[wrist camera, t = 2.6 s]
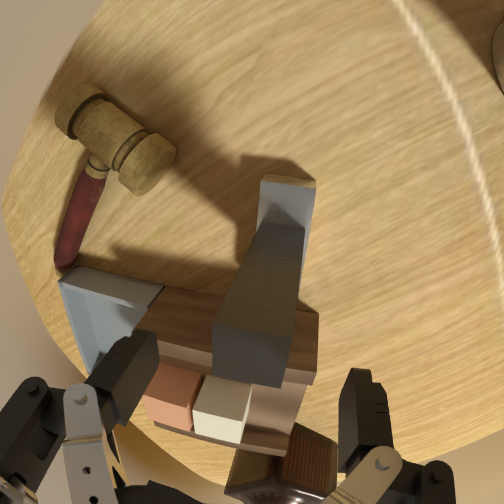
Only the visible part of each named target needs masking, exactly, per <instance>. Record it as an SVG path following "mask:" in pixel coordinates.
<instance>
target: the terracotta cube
mask: <svg viewBox="0 0 504 504" xmlns="http://www.w3.org/2000/svg"><path fill="white" fill-rule="evenodd" d="M201 388H202V375H201V373H198V372H194V371H190V370H186V369H182V368H178V367H175V366H171V365H167V364H164V363H161V362H159V366H158V369H157V371H156V373H155V375H154V376H153V378H152V380H151V382H150V383H149V385H148V387H147V389H146V390H145V392H144V394H143V396H142V399H143V402H144V406H145V409H146V412H147V415H148V418H149V419H150V420H153V421H156V422H159V423H162V424H165V425H169V426H172V427H175V428H178V429H182V430H185V431H189V432H190V430H191V427H192V425H193V422H194V420H193V411H192V409H193V407H194V405H195V402H196V400H197V397H198V395H199V393H200V390H201Z"/></svg>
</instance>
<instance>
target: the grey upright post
mask: <svg viewBox="0 0 504 504" xmlns="http://www.w3.org/2000/svg"><path fill="white" fill-rule="evenodd" d="M315 194H316V180H310V179H303V178H296V177H289V176H282V175H275V174H267V173H266V175H265V176H264V177H263V179H262V180H261V184H260V195H259V205H258V216H257V227H256V234H255V236H254V238H253V240H252V242H251V244H250V246H249V248H248V250H247V252H246V254H245V257H244V259H243V261H242V263H241V265H240V267H239V269H238V271H237V273H236V275H235V277H234V279H233V281H232V283H231V286H230V288H229V290H228V292H227V294H226V296H225V298H224V300H223V302H222V304H221V306H220V308H219V311H218V313H217V315H216V317H215V319H214V321H213V323H212V375H214V376H218V377H223V378H227V379H232V380H237V381H241V382H246V383H251V384H257V385H262V386H267V387H273V388H279V389H281V386H282V382H283V378H284V374H285V369H286V365H287V361H288V356H289V352H290V348H291V343H292V339H293V332H294V324H295V317H296V309H297V301H298V293H299V287H300V282H301V277H302V271H303V266H304V260H305V255H306V249H307V243H308V237H309V231H310V225H311V219H312V213H313V207H314V200H315Z"/></svg>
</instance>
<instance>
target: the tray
mask: <svg viewBox="0 0 504 504" xmlns="http://www.w3.org/2000/svg"><path fill="white" fill-rule="evenodd" d="M58 284H59V288H60V292H61V295H62V299H63V302H64V306H65V309H66V313H67V316H68V319H69V322H70V325H71V328H72V332H73V335H74V337H75V340H76V343H77V346H78V349H79V352H80V354H81V357H82V360H83V362H84V365H85V367H86V370H87V372H88V374H89V375H90V374H91V373H92V372H93V370H94V369H95V368H96V366H97V365H98V364H99V362H100V361H101V360H102V359H104V356H105V355H106V353H107V352H109V349H110V348H111V347H112V346H113V344H114V343H115V342H116V341H118V340H119V339H121V338H122V337H124V336H127V337H130V336H131V332H132V330H133V329H134V328H135V326H136V325H137V324H138V322H139V321H140V320H141V318H142V317H143V316H144V314H145V313H146V312H147V310H148V309H149V308H150V307H151V305H152V304H153V303H154V301H155V300H156V299H157V298H158V296H159V295H160V294H161V292H162V291H163V290H164V285H161V284H156V283H152V282H147V281H143V280H138V279H134V278H129V277H125V276H121V275H117V274H112V273H108V272H104V271H100V270H96V269H92V268H88V267H84V266H80V265H77V266H75V267H74V268H73V269H72V270H70V271H69V272H68V273H67V274H65V275H64V276H63V277H62V278H61V279H59V280H58Z"/></svg>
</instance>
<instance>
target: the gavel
mask: <svg viewBox="0 0 504 504" xmlns="http://www.w3.org/2000/svg"><path fill="white" fill-rule="evenodd" d="M55 124H56V126H57V127H58V128H59V129H60V130H61V131H62V132H63V133H64V134H65V135H67V136H68V137H69V138H70V139H72V140H77V139H79V141H80V143H82V144H83V145H84V146H85V147H86V148H87V149H89V150H90V151H91V153H90V155H89V159H88V161H87V163H86V166H85V168H84V169H83V171H82V172H81V174H80V176H79V177H78V180H77V183H76V186H75V188H74V191H73V194H72V197H71V200H70V203H69V206H68V209H67V212H66V215H65V218H64V221H63V224H62V228H61V231H60V235H59V238H58V242H57V245H56V249H55V253H54V263H55V270H56V275H57V277H59V278H61V277H63V276H64V274H65V273H67V271H68V270H69V269H70V268H71V267H72V266H73V265H74V263H75V260H76V257H77V254H78V251H79V248H80V246H81V243H82V240H83V237H84V235H85V232H86V230H87V227H88V225H89V222H90V220H91V217H92V215H93V212H94V210H95V207H96V205H97V203H98V200H99V198H100V196H101V193H102V191H103V189H104V187H105V182H106V178H107V175H108V173H109V170H110V168H111V169H112V170H113V171H117V172H118V173H119V175H118V180H119V182H120V183H122V184H123V185H124V186H125V187H126V188H128V189H129V190H130V191H131V192H132V193H133V194H135V195H136V196H141V195H144V194H146V193H147V192H149V191H150V190H151V189H152V188H153V187H154V186H155V185H156V184H157V183H158V182H159V181H160V180H161V179H162V178H163V176H164V175H165V173H166V172H167V170H168V169H169V167H170V166H171V164H172V163H173V161H174V160H175V157H176V152H177V148H176V147H175V146H173V145H172V144H171V143H170V142H168V141H167V140H166V139H164V138H163V137H162V136H161V135H159V134H157V133H155V134H152V135H149V134H148V133H147V130H146V129H145V128H144V127H142V126H141V125H140V124H138V123H137V122H136V121H134V120H133V119H132V118H131V117H129V116H128V115H127V114H125V113H124V112H123V111H122V110H120V109H119V108H118V107H116V106H115V105H114V104H112V103H110V102H109V98H108V95H107V94H106V93H104V92H103V91H102V90H100V89H99V88H98V87H96V86H95V85H94V84H92V83H83V84H80V85H78V86H76V87H75V88H73V89H72V90H71V91H70V92H69V93H68V94H67V95H66V96H65V97H64V98H63V100H62V101H61V103H60V104H59V106H58V109H57V111H56V114H55Z"/></svg>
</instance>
